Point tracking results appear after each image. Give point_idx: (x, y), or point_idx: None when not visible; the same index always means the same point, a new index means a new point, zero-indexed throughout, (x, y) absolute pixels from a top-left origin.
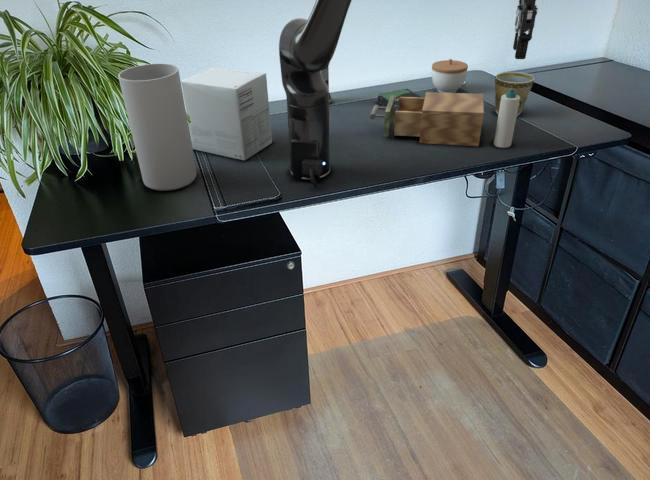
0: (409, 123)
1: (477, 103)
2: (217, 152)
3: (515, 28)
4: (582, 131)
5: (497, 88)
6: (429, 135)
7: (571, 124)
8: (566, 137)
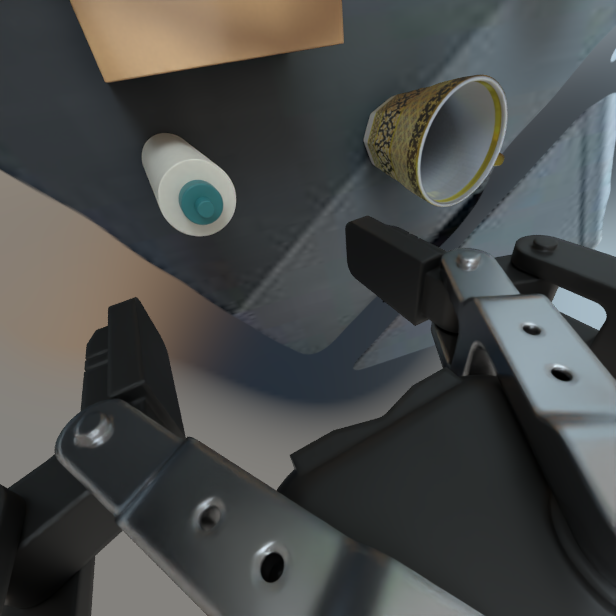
0: None
1: (220, 28)
2: None
3: (466, 262)
4: (317, 300)
5: (428, 93)
6: None
7: (346, 276)
8: (279, 286)
